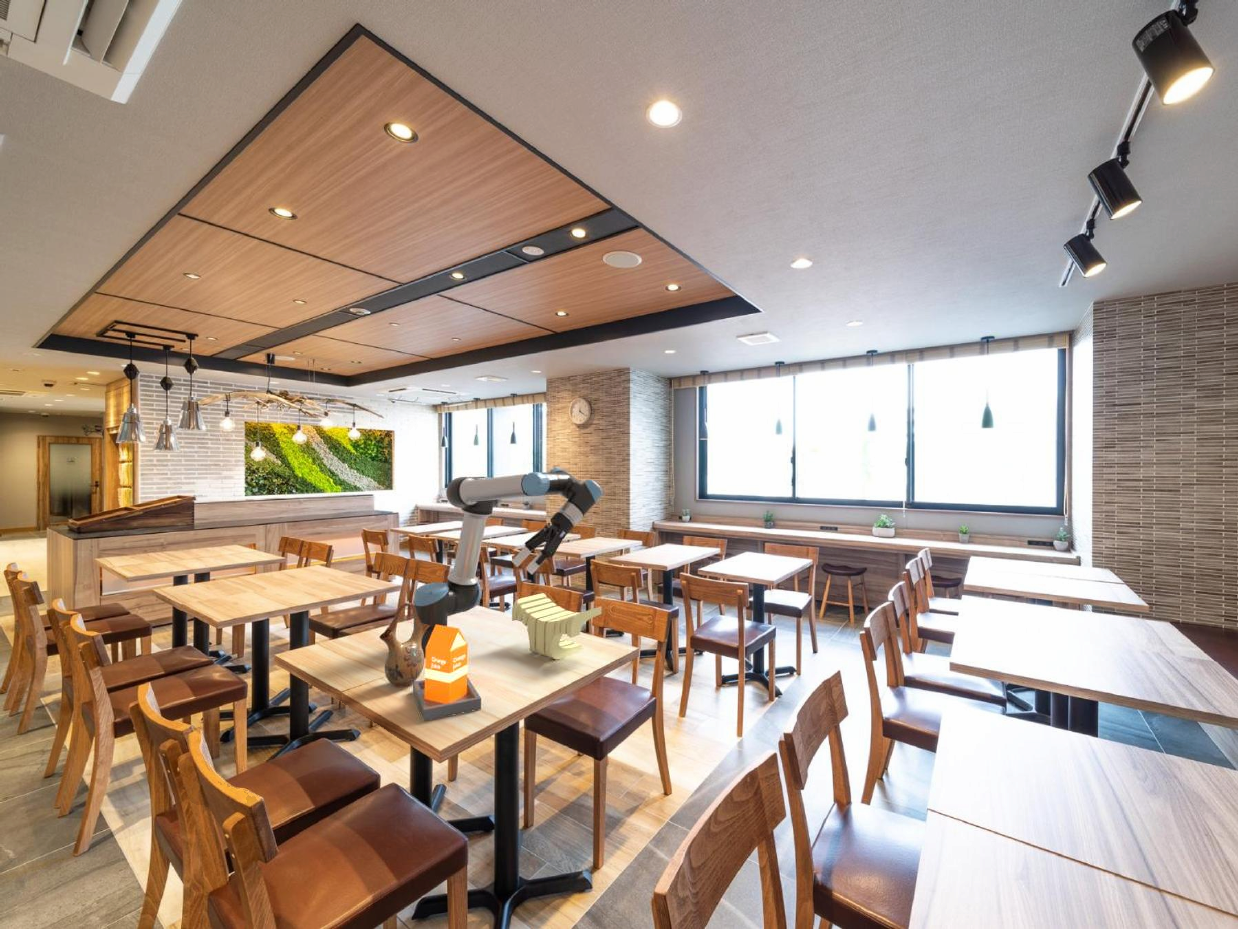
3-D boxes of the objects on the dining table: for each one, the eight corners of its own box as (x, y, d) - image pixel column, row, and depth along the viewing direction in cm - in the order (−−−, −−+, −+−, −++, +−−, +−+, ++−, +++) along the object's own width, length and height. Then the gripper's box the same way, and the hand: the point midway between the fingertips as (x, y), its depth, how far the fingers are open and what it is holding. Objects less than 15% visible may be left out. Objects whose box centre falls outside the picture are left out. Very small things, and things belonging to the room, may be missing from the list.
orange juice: (443, 688, 151) (444, 621, 151) (467, 693, 148) (468, 624, 148) (423, 699, 144) (425, 628, 144) (448, 705, 140) (450, 632, 141)
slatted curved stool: (511, 648, 189) (512, 600, 189) (542, 637, 202) (543, 593, 202) (570, 668, 171) (571, 615, 171) (600, 655, 183) (601, 606, 184)
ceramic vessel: (388, 697, 146) (390, 610, 147) (370, 689, 151) (372, 605, 152) (436, 679, 160) (438, 599, 160) (418, 672, 165) (420, 595, 165)
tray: (412, 692, 150) (413, 682, 150) (464, 682, 158) (464, 672, 158) (423, 721, 133) (423, 710, 133) (480, 709, 140) (481, 698, 141)
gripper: (589, 530, 158) (543, 583, 150) (558, 522, 180) (516, 568, 172) (574, 514, 155) (526, 566, 148) (544, 508, 177) (501, 554, 169)
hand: (521, 567), depth 160 cm, fingers open, 13 cm apart
